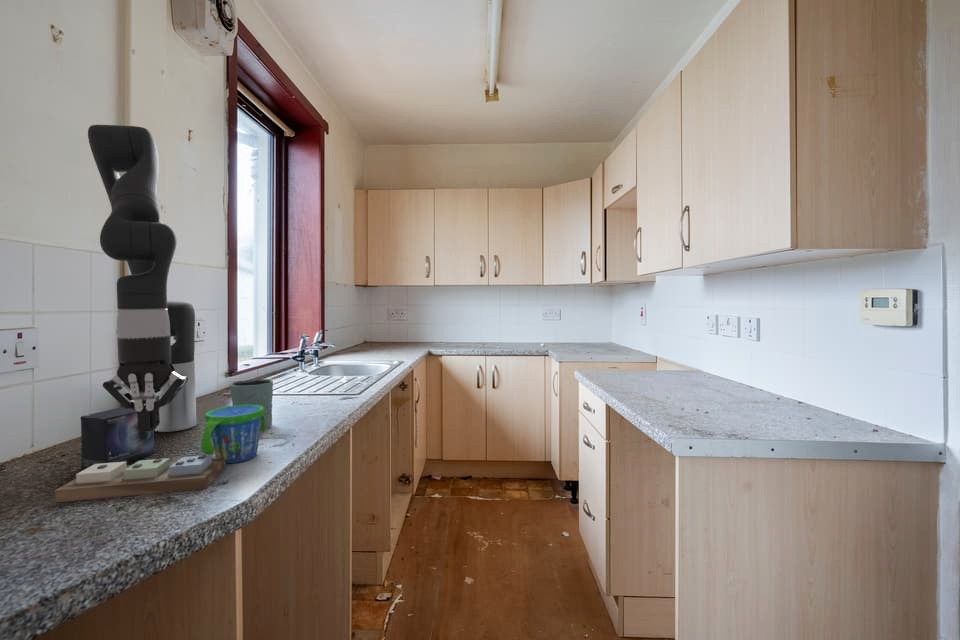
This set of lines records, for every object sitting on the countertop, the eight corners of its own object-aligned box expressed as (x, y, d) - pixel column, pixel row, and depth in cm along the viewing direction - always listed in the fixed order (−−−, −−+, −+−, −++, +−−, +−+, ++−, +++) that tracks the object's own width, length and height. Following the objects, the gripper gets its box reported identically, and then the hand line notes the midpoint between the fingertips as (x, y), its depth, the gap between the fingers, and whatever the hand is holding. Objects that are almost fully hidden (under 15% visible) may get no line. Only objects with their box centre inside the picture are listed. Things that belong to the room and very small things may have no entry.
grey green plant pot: (263, 432, 110) (261, 385, 109) (222, 433, 110) (220, 385, 109) (280, 422, 120) (279, 378, 119) (243, 422, 120) (242, 378, 119)
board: (94, 478, 81) (94, 468, 81) (225, 467, 86) (225, 457, 86) (55, 502, 72) (55, 490, 72) (205, 488, 76) (204, 477, 76)
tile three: (182, 475, 82) (181, 455, 82) (212, 473, 83) (211, 453, 83) (169, 486, 77) (169, 465, 77) (201, 483, 78) (200, 462, 78)
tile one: (95, 483, 79) (94, 462, 79) (127, 480, 80) (126, 459, 80) (76, 494, 74) (75, 472, 74) (110, 491, 75) (110, 469, 75)
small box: (106, 471, 85) (104, 417, 85) (79, 469, 86) (77, 416, 86) (156, 453, 95) (155, 405, 95) (132, 451, 97) (130, 404, 96)
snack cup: (224, 475, 83) (222, 421, 82) (182, 469, 86) (180, 417, 85) (284, 448, 97) (283, 403, 97) (247, 444, 101) (245, 400, 100)
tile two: (139, 479, 81) (139, 458, 81) (170, 476, 82) (169, 456, 82) (124, 490, 76) (123, 468, 76) (157, 487, 77) (156, 466, 77)
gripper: (194, 331, 83) (198, 422, 84) (113, 333, 80) (118, 427, 81) (177, 335, 76) (181, 434, 77) (87, 337, 73) (92, 439, 74)
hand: (149, 430), depth 79 cm, fingers closed
